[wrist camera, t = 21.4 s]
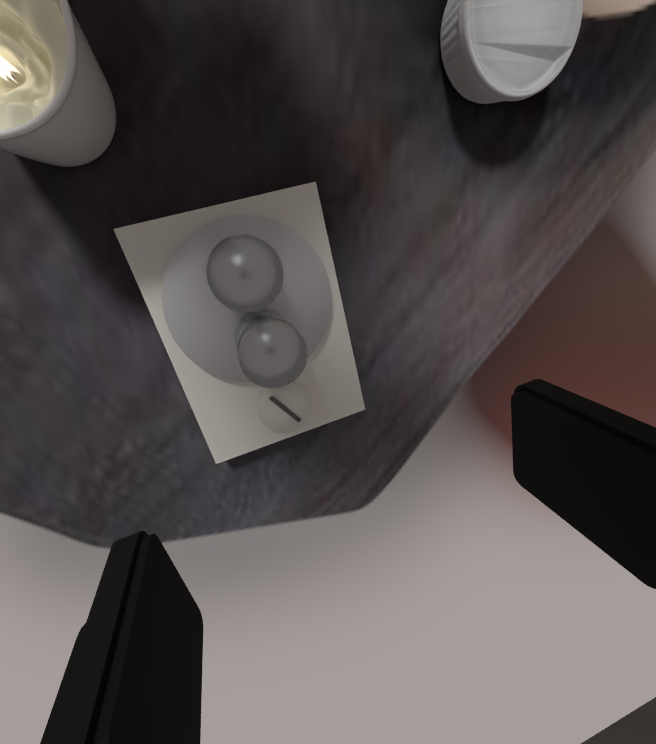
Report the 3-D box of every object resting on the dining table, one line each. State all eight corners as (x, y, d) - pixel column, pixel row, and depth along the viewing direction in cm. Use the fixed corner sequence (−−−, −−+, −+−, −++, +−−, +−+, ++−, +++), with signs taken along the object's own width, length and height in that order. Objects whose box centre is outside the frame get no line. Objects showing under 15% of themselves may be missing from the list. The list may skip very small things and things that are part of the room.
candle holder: (13, 190, 27) (-122, 156, 16) (-71, 22, 23) (-321, -172, 12) (149, 166, 29) (111, 120, 18) (93, 6, 25) (1, -175, 14)
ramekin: (459, 142, 35) (498, 126, 30) (405, 11, 30) (441, -32, 26) (547, 71, 35) (599, 45, 31) (508, -70, 31) (562, -127, 26)
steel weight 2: (221, 337, 31) (223, 357, 25) (263, 296, 31) (274, 306, 25) (264, 375, 33) (273, 401, 27) (303, 336, 33) (320, 354, 27)
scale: (122, 230, 30) (109, 228, 26) (307, 186, 32) (318, 179, 29) (216, 448, 38) (216, 469, 35) (355, 398, 41) (368, 413, 38)
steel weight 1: (198, 244, 28) (194, 245, 23) (261, 229, 29) (271, 226, 23) (220, 307, 30) (221, 321, 24) (278, 290, 31) (292, 301, 25)
